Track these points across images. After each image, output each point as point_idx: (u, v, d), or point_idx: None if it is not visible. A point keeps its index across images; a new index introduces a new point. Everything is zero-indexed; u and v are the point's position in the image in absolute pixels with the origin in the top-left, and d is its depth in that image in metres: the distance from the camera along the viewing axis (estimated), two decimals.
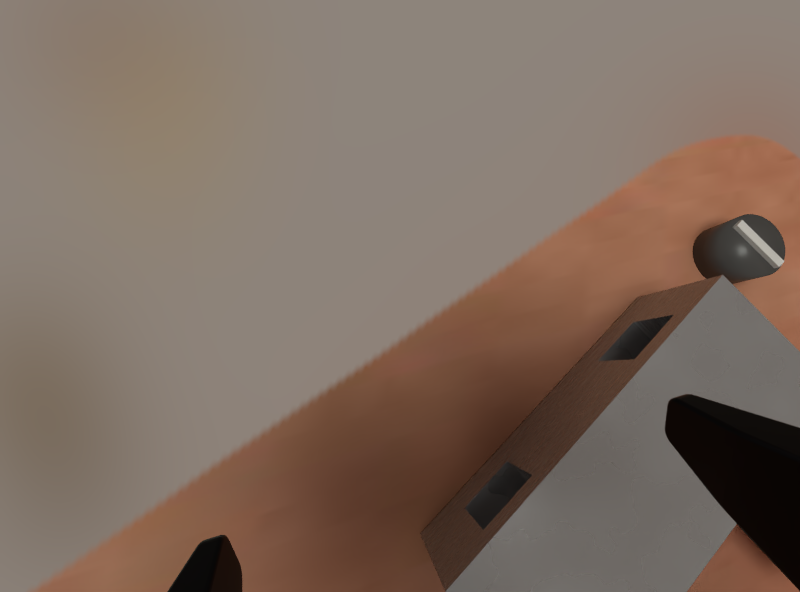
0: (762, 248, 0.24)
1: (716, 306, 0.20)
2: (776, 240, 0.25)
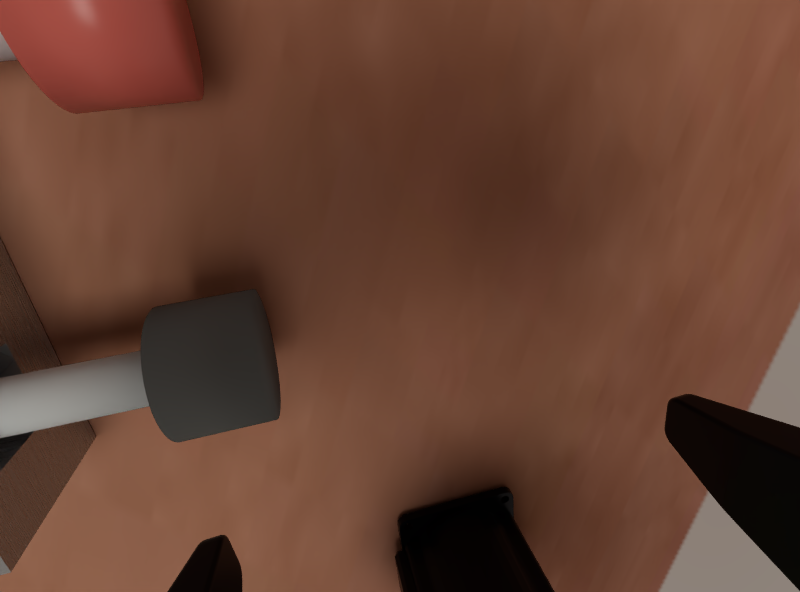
0: None
1: None
2: None
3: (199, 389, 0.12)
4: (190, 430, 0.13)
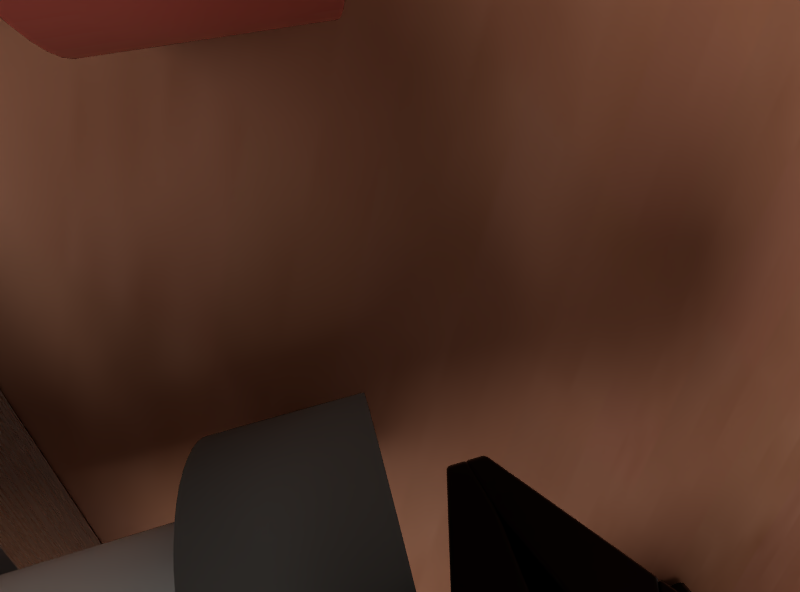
0: None
1: None
2: None
3: None
4: None
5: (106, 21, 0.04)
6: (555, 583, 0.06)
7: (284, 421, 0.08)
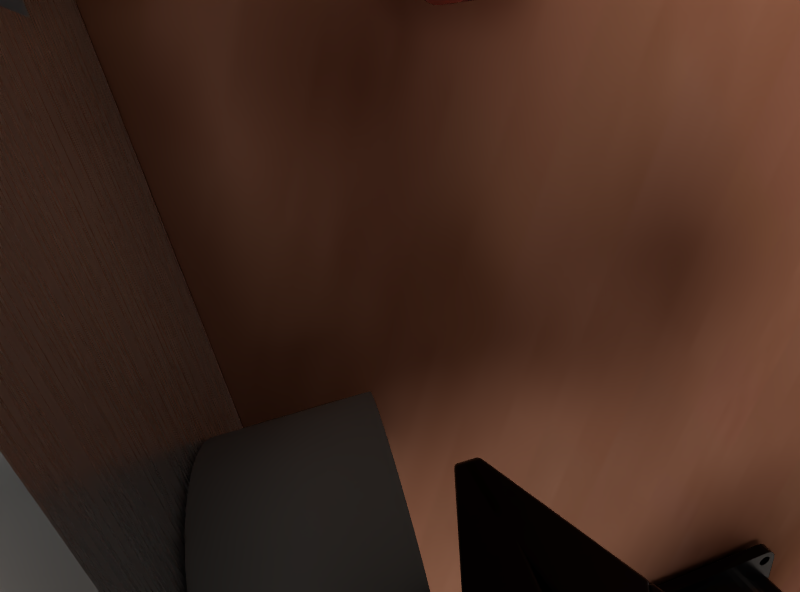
0: None
1: None
2: None
3: None
4: None
5: None
6: (546, 586, 0.05)
7: (291, 421, 0.08)
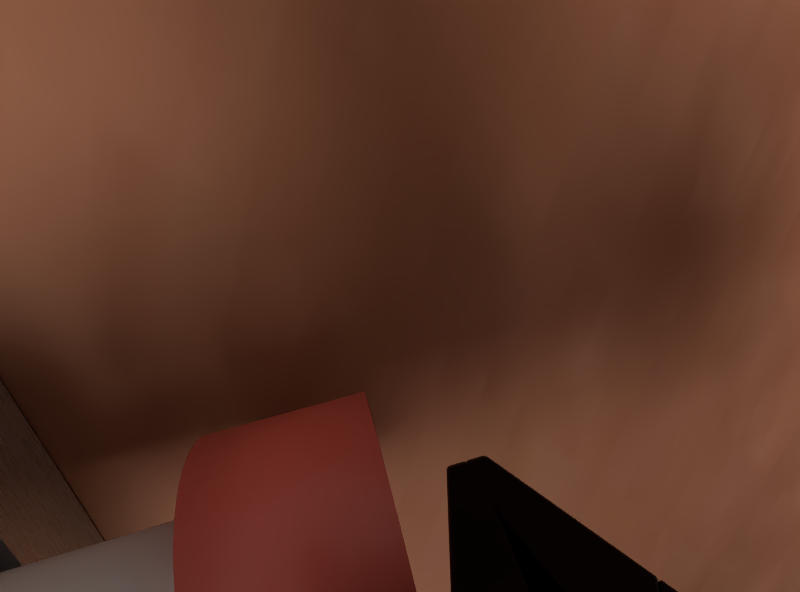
0: None
1: None
2: None
3: None
4: None
5: None
6: (555, 583, 0.06)
7: None
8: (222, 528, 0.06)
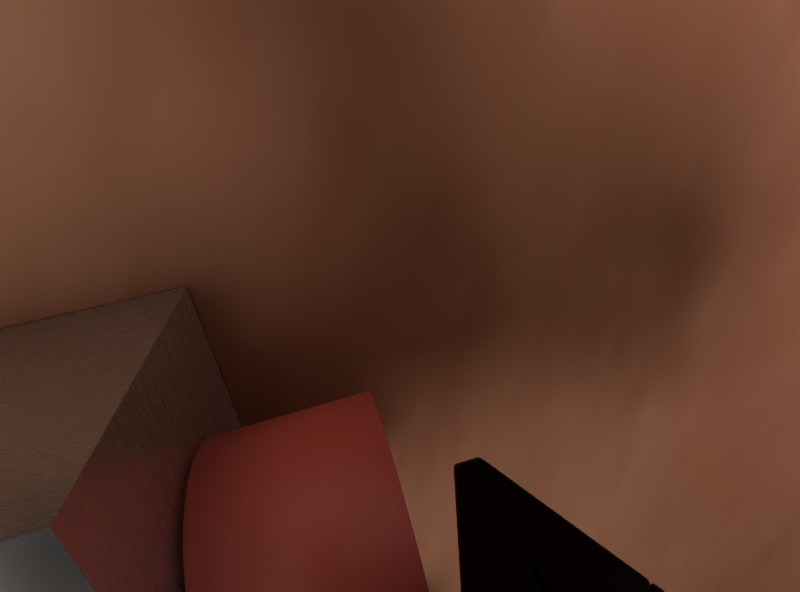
0: None
1: None
2: None
3: None
4: None
5: None
6: (547, 586, 0.05)
7: None
8: (232, 529, 0.06)
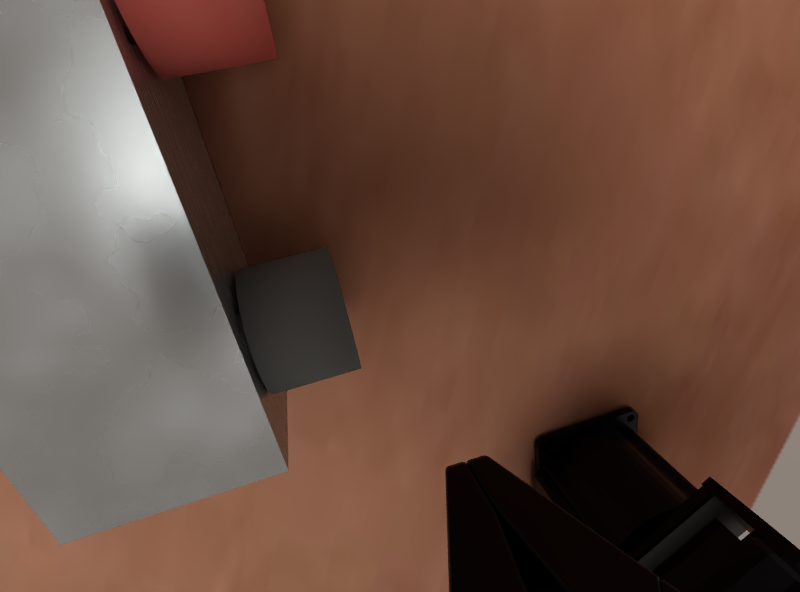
0: None
1: None
2: None
3: (296, 339, 0.13)
4: (287, 380, 0.14)
5: (186, 67, 0.11)
6: (556, 583, 0.06)
7: None
8: None
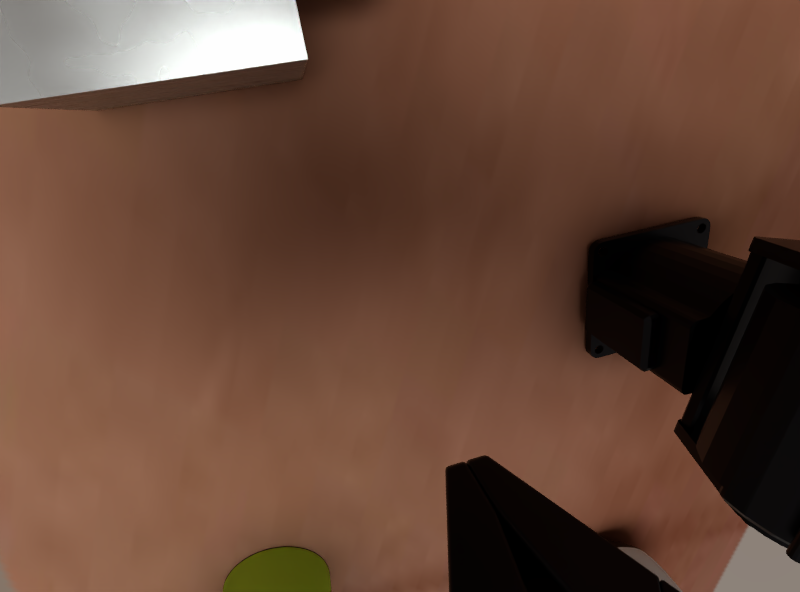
0: None
1: None
2: None
3: None
4: None
5: None
6: (557, 582, 0.06)
7: None
8: None
